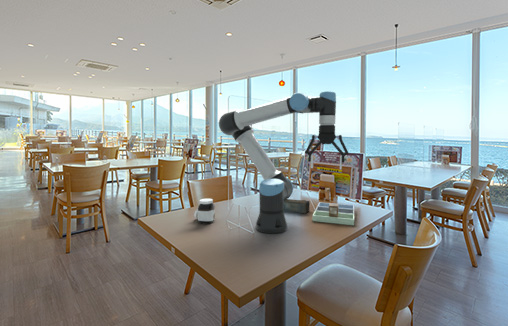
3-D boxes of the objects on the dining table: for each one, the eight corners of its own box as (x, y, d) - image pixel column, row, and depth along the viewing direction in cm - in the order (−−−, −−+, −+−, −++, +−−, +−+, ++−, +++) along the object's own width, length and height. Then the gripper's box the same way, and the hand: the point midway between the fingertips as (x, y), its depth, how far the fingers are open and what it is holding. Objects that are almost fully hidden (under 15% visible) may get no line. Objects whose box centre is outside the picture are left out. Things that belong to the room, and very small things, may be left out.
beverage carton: (280, 207, 171) (280, 196, 170) (310, 210, 162) (310, 200, 161) (275, 210, 164) (275, 199, 163) (306, 214, 155) (306, 203, 154)
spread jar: (210, 225, 136) (209, 202, 135) (189, 223, 138) (188, 201, 137) (217, 218, 148) (217, 197, 147) (198, 216, 150) (198, 196, 149)
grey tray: (317, 210, 161) (317, 205, 160) (319, 207, 169) (319, 202, 169) (354, 214, 154) (354, 209, 153) (354, 210, 162) (354, 205, 162)
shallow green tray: (315, 215, 151) (315, 210, 151) (317, 211, 160) (317, 206, 160) (354, 219, 144) (354, 214, 144) (354, 214, 153) (354, 209, 153)
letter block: (328, 221, 141) (329, 205, 140) (329, 218, 145) (329, 203, 145) (337, 222, 140) (338, 206, 139) (338, 219, 144) (338, 204, 143)
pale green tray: (312, 220, 142) (312, 215, 142) (314, 216, 151) (314, 210, 150) (354, 225, 135) (354, 219, 135) (354, 219, 144) (354, 214, 143)
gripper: (354, 124, 128) (353, 168, 131) (302, 125, 137) (301, 166, 139) (354, 124, 121) (353, 170, 124) (299, 125, 130) (299, 168, 132)
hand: (325, 168), depth 131 cm, fingers open, 13 cm apart
